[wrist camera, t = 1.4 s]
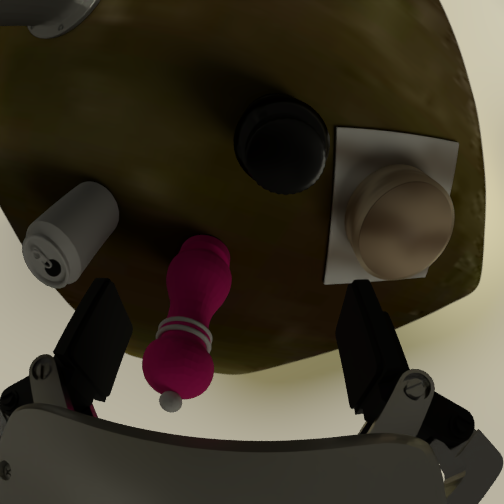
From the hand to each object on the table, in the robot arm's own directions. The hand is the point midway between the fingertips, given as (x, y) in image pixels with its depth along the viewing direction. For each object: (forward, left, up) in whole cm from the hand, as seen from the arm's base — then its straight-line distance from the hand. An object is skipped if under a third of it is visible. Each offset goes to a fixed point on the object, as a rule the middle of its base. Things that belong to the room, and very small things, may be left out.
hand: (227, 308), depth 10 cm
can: (+3, -19, -20) cm, 28 cm away
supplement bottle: (-4, +3, -20) cm, 21 cm away
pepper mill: (+11, -6, -20) cm, 24 cm away
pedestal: (+6, +17, -20) cm, 27 cm away
